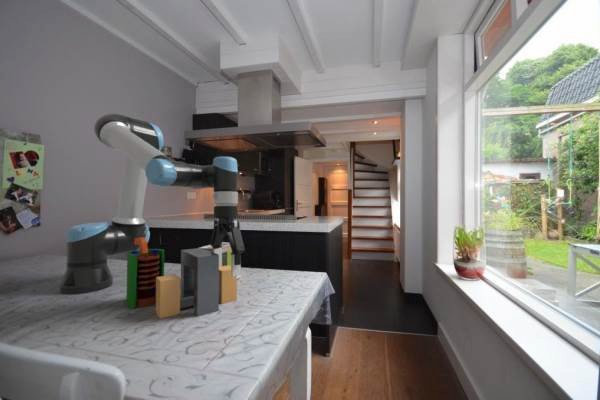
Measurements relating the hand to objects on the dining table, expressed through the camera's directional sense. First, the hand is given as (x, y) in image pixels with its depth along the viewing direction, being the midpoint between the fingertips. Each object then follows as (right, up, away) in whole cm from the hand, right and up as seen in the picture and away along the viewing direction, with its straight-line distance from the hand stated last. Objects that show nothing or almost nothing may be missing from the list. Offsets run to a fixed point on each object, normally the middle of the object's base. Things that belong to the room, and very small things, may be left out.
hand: (226, 271), depth 85 cm
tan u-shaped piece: (-7, -9, -5) cm, 12 cm away
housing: (-7, -9, -5) cm, 12 cm away
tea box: (-8, -9, +19) cm, 22 cm away
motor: (-25, -9, -3) cm, 27 cm away
